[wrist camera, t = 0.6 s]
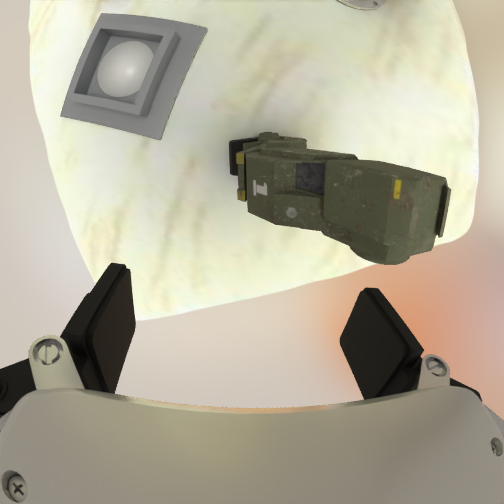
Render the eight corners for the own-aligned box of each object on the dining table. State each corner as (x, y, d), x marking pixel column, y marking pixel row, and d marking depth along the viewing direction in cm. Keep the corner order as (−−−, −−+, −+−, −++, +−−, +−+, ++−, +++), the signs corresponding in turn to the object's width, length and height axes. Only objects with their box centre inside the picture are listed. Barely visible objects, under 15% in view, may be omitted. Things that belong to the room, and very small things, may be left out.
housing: (103, 15, 24) (91, 5, 19) (207, 30, 28) (205, 17, 23) (63, 116, 30) (46, 116, 26) (160, 139, 35) (151, 141, 30)
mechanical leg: (205, 185, 37) (322, 313, 12) (202, 134, 34) (338, 142, 9) (293, 177, 41) (466, 259, 16) (293, 132, 38) (485, 165, 12)
